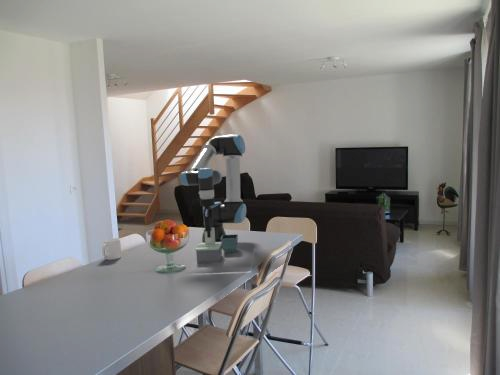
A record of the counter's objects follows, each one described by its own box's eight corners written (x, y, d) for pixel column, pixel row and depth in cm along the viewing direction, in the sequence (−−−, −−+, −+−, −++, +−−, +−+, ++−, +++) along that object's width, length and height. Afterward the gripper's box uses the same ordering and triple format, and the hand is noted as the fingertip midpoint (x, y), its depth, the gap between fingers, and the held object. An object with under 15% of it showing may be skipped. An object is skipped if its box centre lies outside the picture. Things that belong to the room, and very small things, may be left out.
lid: (199, 246, 216) (198, 228, 215) (221, 245, 215) (220, 227, 214) (195, 252, 203) (194, 233, 202) (218, 251, 202) (217, 232, 201)
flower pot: (238, 254, 219) (237, 237, 218) (221, 255, 219) (220, 238, 218) (238, 250, 227) (237, 234, 226) (223, 250, 228) (222, 235, 227)
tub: (201, 257, 216) (200, 244, 215) (222, 256, 215) (221, 243, 215) (197, 264, 204) (196, 250, 203) (219, 263, 204) (218, 249, 203)
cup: (124, 256, 228) (123, 238, 227) (109, 262, 218) (107, 243, 217) (113, 255, 232) (111, 237, 231) (97, 261, 221) (95, 242, 220)
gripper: (202, 196, 219) (205, 239, 221) (197, 200, 204) (200, 246, 206) (216, 195, 219) (219, 239, 221) (212, 199, 204) (215, 246, 206)
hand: (210, 242), depth 214 cm, fingers closed on lid, 2 cm apart
